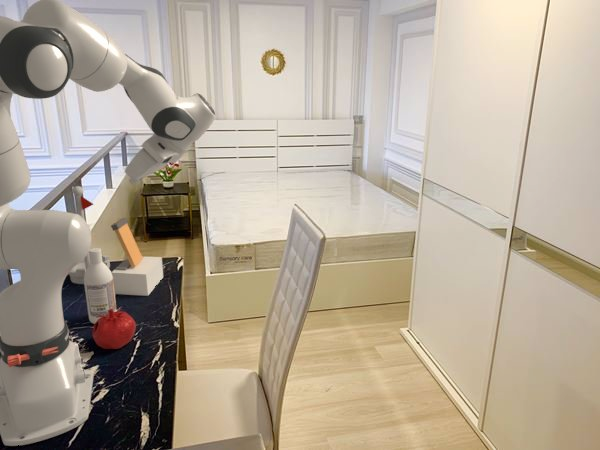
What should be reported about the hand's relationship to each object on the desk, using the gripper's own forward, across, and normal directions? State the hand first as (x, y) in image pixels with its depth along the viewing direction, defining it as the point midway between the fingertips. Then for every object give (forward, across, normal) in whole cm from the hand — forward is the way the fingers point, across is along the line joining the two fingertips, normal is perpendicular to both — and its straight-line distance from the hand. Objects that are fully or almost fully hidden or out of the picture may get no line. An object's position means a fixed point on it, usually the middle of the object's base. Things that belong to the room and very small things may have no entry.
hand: (133, 182), depth 122 cm
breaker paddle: (+23, -10, +16) cm, 30 cm away
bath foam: (+30, +10, +21) cm, 38 cm away
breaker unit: (+28, -11, +21) cm, 37 cm away
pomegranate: (+25, +20, +27) cm, 42 cm away
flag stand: (+42, -15, +8) cm, 45 cm away
